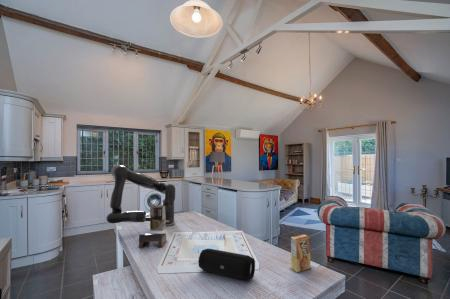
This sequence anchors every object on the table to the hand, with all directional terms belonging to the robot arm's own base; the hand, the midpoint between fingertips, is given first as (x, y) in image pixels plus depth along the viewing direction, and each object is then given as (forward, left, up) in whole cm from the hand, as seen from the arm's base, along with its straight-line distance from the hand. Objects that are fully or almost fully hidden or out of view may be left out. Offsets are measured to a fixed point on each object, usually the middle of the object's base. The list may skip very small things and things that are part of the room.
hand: (161, 216), depth 150 cm
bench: (+13, -1, -14) cm, 19 cm away
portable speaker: (+49, +45, -14) cm, 68 cm away
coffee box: (0, -2, -9) cm, 9 cm away
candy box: (+45, +82, -14) cm, 94 cm away
